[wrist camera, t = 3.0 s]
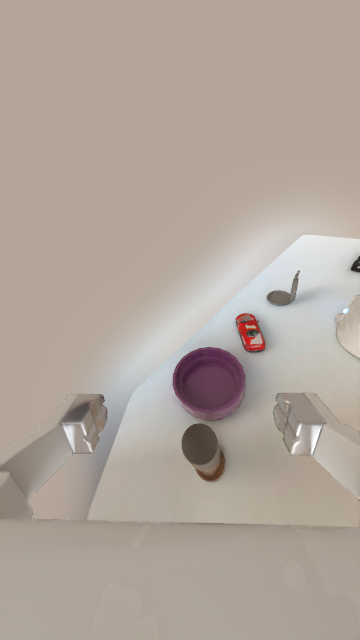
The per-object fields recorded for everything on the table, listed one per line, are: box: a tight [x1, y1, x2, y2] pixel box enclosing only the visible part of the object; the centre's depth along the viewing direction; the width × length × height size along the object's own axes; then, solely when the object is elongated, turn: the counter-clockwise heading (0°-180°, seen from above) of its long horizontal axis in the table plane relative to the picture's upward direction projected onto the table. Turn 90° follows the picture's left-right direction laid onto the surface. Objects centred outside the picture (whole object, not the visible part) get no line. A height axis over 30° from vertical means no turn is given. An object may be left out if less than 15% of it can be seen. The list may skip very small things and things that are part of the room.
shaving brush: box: [182, 424, 225, 482], centre depth 29 cm, size 5×5×12 cm
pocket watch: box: [267, 271, 300, 305], centre depth 55 cm, size 8×8×10 cm
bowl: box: [173, 347, 245, 421], centre depth 42 cm, size 15×15×4 cm
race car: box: [236, 313, 265, 353], centre depth 50 cm, size 13×5×4 cm, turn 178°
